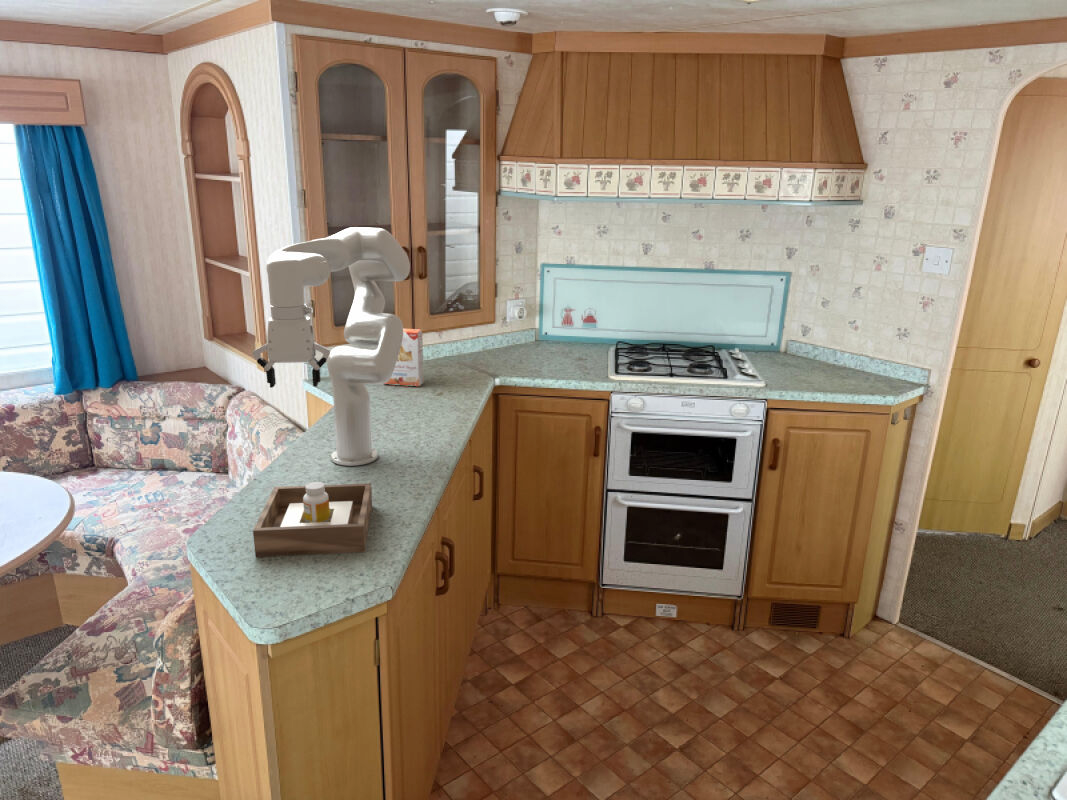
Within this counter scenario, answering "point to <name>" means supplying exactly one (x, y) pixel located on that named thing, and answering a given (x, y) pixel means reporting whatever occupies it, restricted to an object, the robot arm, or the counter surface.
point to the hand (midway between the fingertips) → (294, 385)
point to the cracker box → (409, 360)
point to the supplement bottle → (316, 503)
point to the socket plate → (338, 515)
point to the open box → (317, 537)
